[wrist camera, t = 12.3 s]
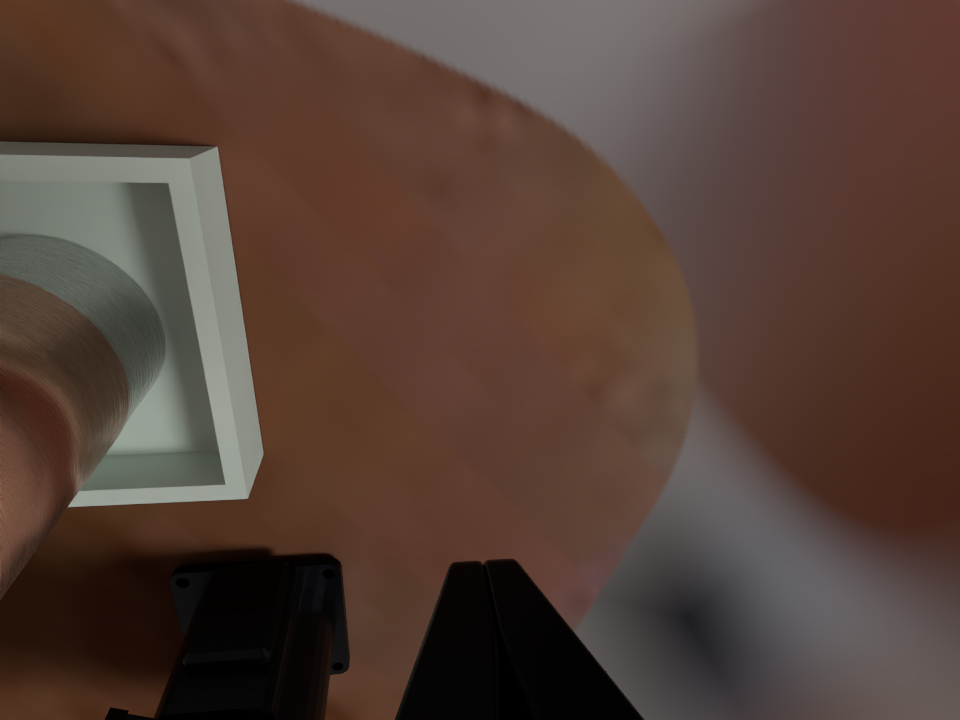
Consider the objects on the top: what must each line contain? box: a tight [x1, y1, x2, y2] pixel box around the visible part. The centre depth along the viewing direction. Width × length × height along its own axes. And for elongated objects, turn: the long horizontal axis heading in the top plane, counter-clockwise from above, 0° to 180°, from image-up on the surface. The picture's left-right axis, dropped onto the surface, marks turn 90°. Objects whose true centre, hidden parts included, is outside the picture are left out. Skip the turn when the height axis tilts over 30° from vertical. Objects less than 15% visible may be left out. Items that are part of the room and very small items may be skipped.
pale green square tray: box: [0, 141, 263, 507], centre depth 17 cm, size 11×11×2 cm
